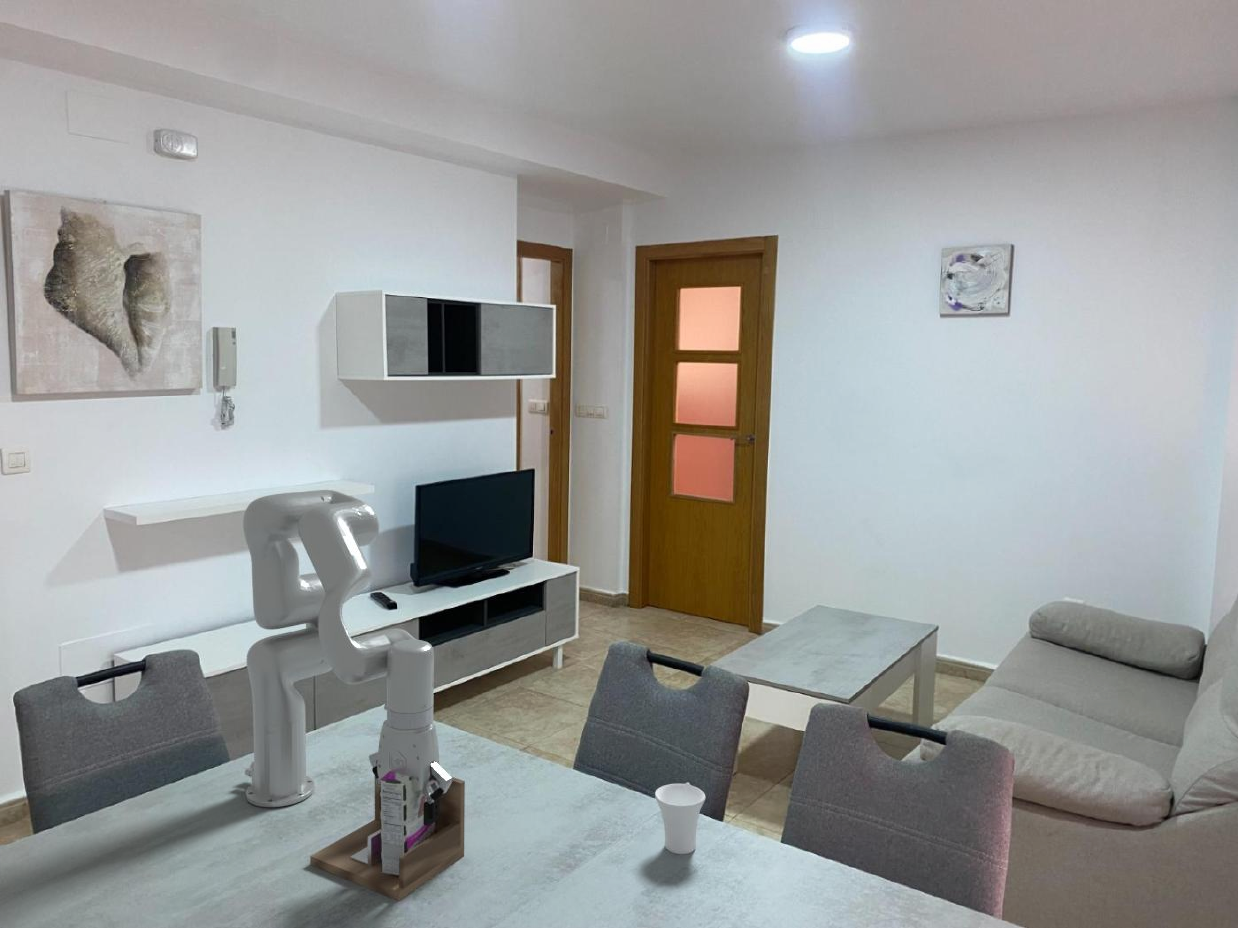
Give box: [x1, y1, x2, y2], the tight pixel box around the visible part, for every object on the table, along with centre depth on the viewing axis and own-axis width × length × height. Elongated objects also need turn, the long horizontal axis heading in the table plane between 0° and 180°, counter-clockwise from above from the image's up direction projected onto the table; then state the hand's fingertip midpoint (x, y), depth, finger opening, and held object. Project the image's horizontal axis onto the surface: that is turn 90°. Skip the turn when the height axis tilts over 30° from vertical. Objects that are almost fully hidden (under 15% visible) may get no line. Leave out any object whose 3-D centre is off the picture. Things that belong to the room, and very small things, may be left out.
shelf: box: [309, 776, 466, 901], centre depth 158 cm, size 20×16×14 cm
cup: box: [654, 782, 706, 855], centre depth 165 cm, size 9×9×10 cm
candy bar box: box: [380, 771, 437, 876], centre depth 155 cm, size 11×5×16 cm, turn 165°
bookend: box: [350, 829, 381, 867], centre depth 159 cm, size 5×10×5 cm, turn 150°
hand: (409, 813), depth 155 cm, fingers open, 9 cm apart
